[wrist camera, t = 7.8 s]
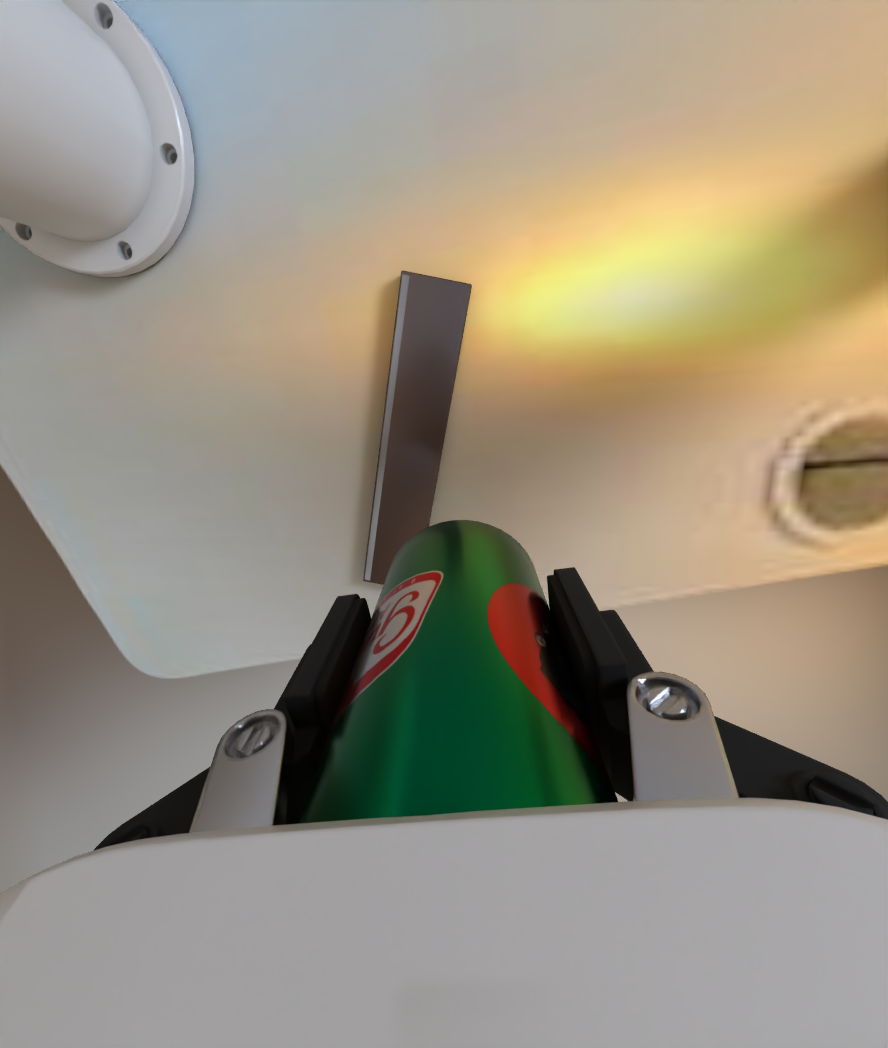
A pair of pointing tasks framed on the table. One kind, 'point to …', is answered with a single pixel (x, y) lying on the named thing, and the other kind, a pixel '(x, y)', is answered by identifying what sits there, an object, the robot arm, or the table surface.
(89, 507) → the table surface
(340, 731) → the soda can
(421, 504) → the ruler
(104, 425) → the table surface
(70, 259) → the robot arm
